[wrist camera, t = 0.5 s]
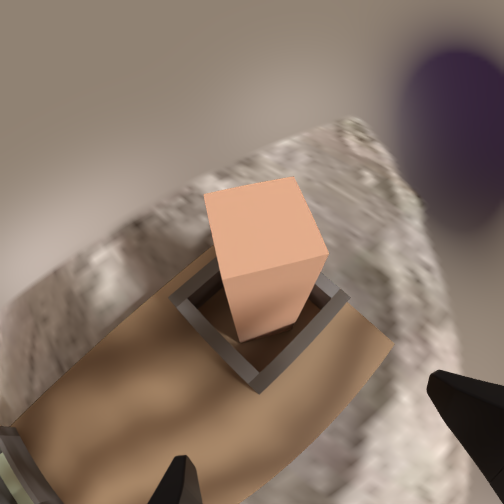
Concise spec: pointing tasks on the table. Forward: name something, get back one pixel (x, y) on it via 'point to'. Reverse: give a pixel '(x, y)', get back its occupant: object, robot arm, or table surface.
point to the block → (265, 254)
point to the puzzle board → (189, 398)
